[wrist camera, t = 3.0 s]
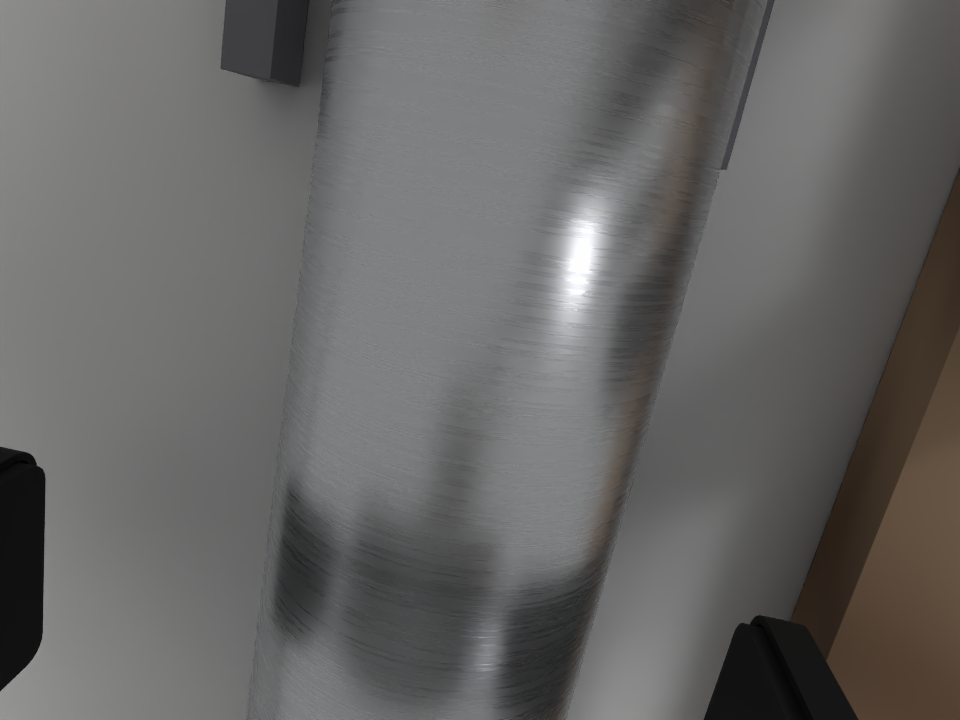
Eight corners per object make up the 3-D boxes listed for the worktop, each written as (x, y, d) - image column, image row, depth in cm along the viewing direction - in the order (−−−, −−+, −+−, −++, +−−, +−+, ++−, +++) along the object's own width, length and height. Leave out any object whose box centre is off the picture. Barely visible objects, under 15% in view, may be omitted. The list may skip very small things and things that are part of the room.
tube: (386, -498, 7) (480, -1203, 3) (739, -342, 8) (1108, -733, 4) (199, 1086, 14) (159, 1447, 10) (404, 1053, 15) (436, 1369, 11)
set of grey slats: (299, -397, 8) (264, -474, 7) (837, -303, 8) (878, -370, 7) (166, 1012, 14) (139, 1073, 13) (455, 1084, 14) (448, 1152, 13)
